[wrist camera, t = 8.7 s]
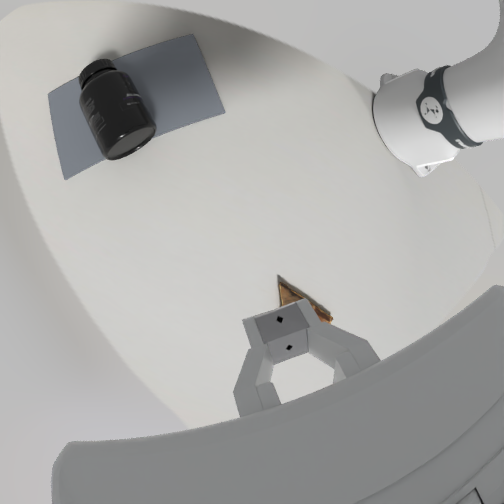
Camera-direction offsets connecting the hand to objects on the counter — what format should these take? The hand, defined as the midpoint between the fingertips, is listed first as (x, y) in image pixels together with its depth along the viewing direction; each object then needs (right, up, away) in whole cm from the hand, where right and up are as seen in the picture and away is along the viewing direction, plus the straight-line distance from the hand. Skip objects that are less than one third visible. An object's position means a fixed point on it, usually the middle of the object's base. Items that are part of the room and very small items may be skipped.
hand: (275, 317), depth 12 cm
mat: (-17, +23, +16) cm, 33 cm away
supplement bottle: (-14, +14, +14) cm, 24 cm away
